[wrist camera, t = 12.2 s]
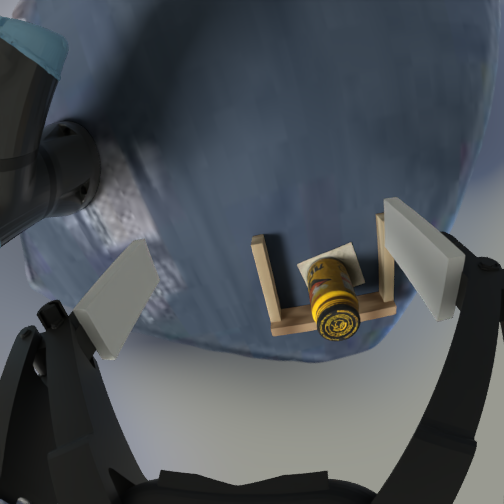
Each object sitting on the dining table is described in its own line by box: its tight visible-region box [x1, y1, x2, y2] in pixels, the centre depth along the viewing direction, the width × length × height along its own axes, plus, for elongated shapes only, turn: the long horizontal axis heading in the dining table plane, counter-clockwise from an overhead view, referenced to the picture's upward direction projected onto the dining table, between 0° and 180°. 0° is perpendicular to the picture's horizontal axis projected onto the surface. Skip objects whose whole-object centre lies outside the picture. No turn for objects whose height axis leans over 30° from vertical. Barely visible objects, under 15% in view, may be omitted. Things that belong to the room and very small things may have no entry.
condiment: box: [297, 243, 365, 341], centre depth 37 cm, size 7×8×12 cm
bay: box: [251, 213, 396, 336], centre depth 40 cm, size 19×14×4 cm
